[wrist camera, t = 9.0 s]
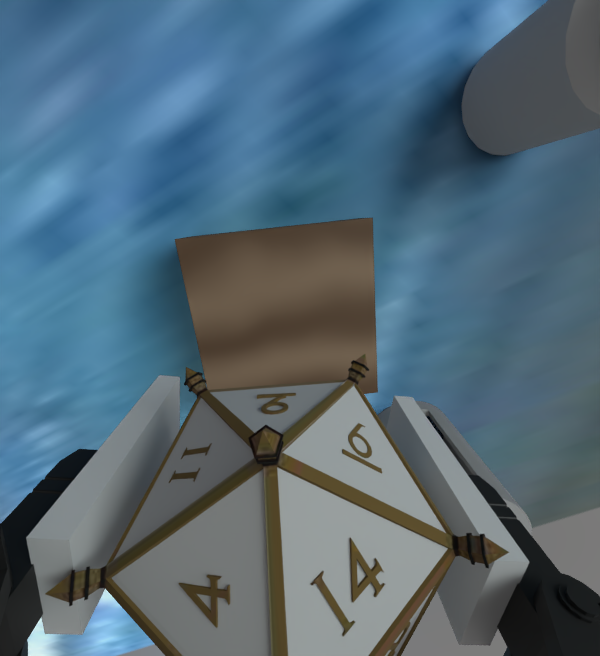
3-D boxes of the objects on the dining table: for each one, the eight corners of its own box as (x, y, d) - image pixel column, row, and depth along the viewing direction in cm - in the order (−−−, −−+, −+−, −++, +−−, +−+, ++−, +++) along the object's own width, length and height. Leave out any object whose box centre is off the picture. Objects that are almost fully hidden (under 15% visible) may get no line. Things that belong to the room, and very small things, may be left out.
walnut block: (193, 236, 27) (174, 239, 23) (357, 218, 27) (372, 217, 23) (223, 382, 32) (212, 410, 27) (363, 366, 32) (377, 392, 27)
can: (486, 178, 26) (638, 147, 15) (436, 97, 24) (567, -10, 13) (568, 109, 25) (802, 17, 14) (522, 18, 23) (752, -179, 12)
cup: (379, 482, 36) (422, 603, 25) (354, 418, 33) (390, 521, 22) (457, 456, 35) (539, 568, 24) (439, 388, 33) (522, 478, 21)
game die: (248, 263, 11) (44, 504, 2) (434, 376, 13) (841, 807, 3) (143, 447, 13) (-200, 993, 4) (313, 522, 15) (360, 1029, 6)
